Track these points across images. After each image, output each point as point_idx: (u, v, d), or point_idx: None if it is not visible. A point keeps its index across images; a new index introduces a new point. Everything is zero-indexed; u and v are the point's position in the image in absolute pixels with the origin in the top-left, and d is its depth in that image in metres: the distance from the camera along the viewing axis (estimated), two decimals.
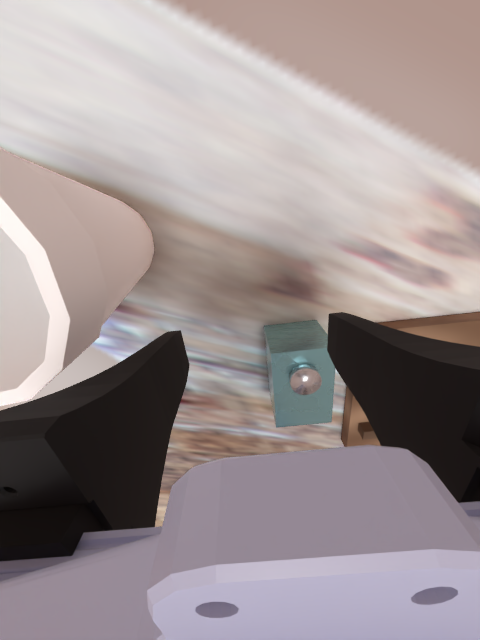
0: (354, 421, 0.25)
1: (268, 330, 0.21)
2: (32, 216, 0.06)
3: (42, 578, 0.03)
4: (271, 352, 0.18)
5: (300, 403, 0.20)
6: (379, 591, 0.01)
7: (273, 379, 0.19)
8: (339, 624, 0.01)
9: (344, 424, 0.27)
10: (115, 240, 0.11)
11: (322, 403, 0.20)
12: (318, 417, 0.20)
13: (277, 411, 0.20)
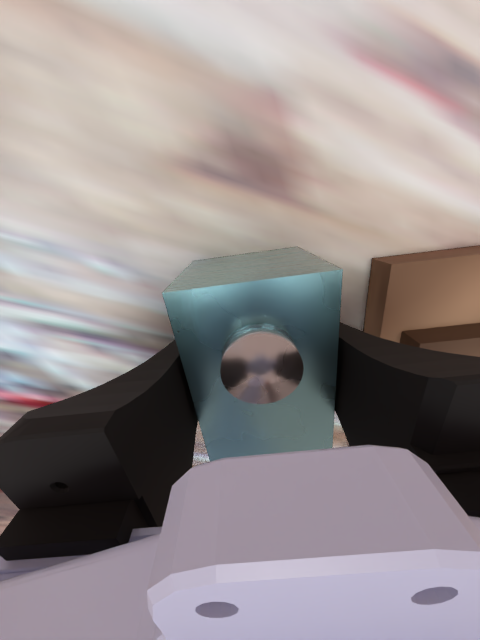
0: None
1: (195, 264, 0.10)
2: None
3: (42, 578, 0.03)
4: (167, 290, 0.07)
5: (260, 423, 0.09)
6: (380, 591, 0.01)
7: (185, 365, 0.07)
8: (339, 624, 0.01)
9: None
10: None
11: (309, 422, 0.09)
12: None
13: (209, 440, 0.09)
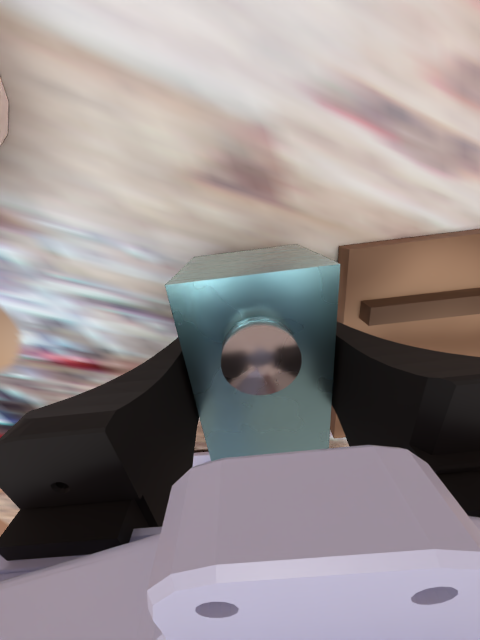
0: None
1: (196, 260, 0.10)
2: None
3: (42, 578, 0.03)
4: (169, 283, 0.07)
5: (258, 415, 0.09)
6: (379, 592, 0.01)
7: (186, 357, 0.08)
8: (339, 625, 0.01)
9: None
10: None
11: (307, 415, 0.09)
12: (300, 444, 0.09)
13: (208, 432, 0.09)
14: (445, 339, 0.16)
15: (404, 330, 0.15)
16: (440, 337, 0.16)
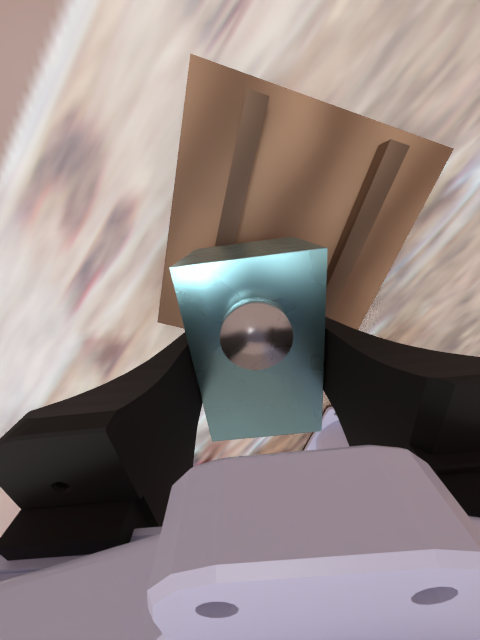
0: None
1: (198, 251, 0.11)
2: None
3: (42, 578, 0.03)
4: (173, 266, 0.07)
5: (255, 393, 0.09)
6: (379, 591, 0.01)
7: (188, 336, 0.08)
8: (339, 624, 0.01)
9: None
10: None
11: (300, 392, 0.09)
12: (294, 421, 0.10)
13: (208, 409, 0.10)
14: None
15: None
16: None
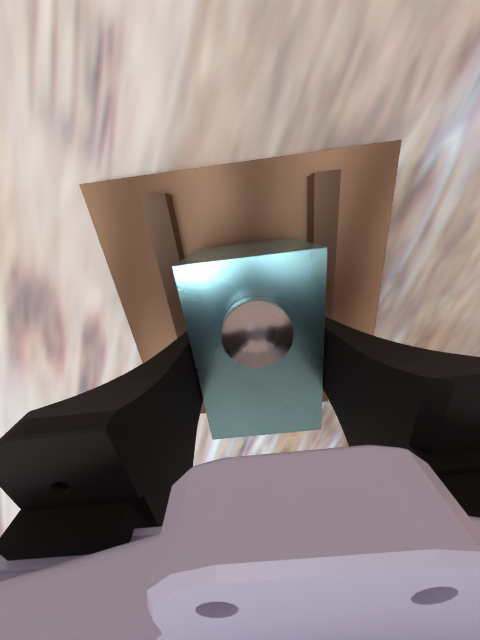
0: None
1: (199, 251, 0.11)
2: None
3: (42, 578, 0.03)
4: (176, 265, 0.08)
5: (256, 391, 0.09)
6: (379, 591, 0.01)
7: (190, 334, 0.08)
8: (339, 624, 0.01)
9: None
10: None
11: (300, 390, 0.09)
12: (294, 419, 0.10)
13: (209, 407, 0.10)
14: None
15: None
16: None
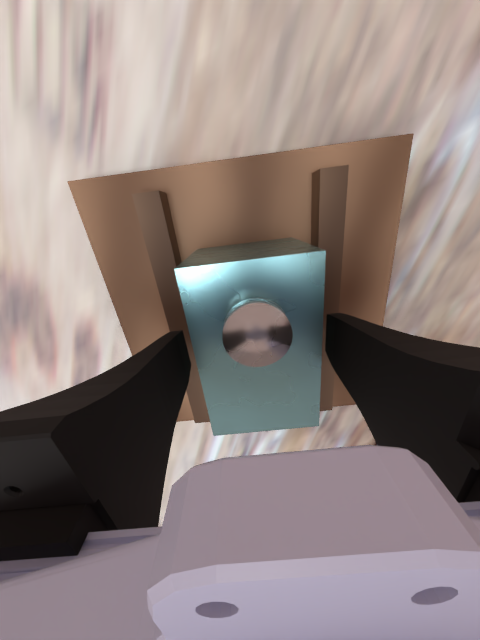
0: None
1: (200, 251, 0.11)
2: None
3: (42, 578, 0.03)
4: (177, 267, 0.08)
5: (255, 389, 0.10)
6: (379, 592, 0.01)
7: (191, 334, 0.09)
8: (339, 625, 0.01)
9: None
10: None
11: (299, 388, 0.10)
12: (293, 416, 0.10)
13: (210, 404, 0.10)
14: None
15: None
16: None
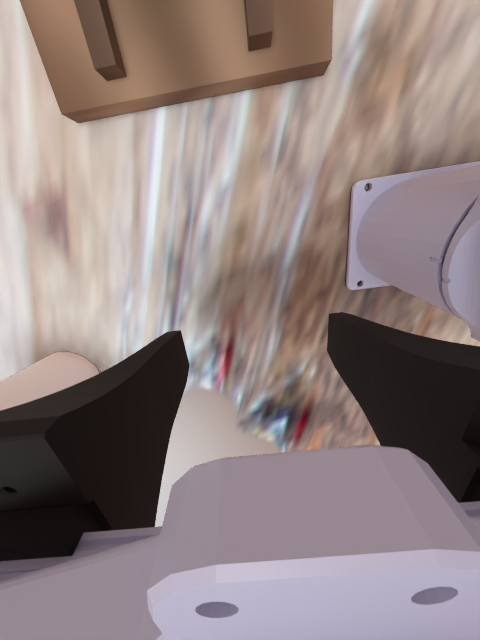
0: (245, 65, 0.13)
1: None
2: None
3: (42, 578, 0.03)
4: None
5: None
6: (379, 591, 0.01)
7: None
8: (339, 624, 0.01)
9: (273, 81, 0.14)
10: None
11: None
12: None
13: None
14: None
15: None
16: None
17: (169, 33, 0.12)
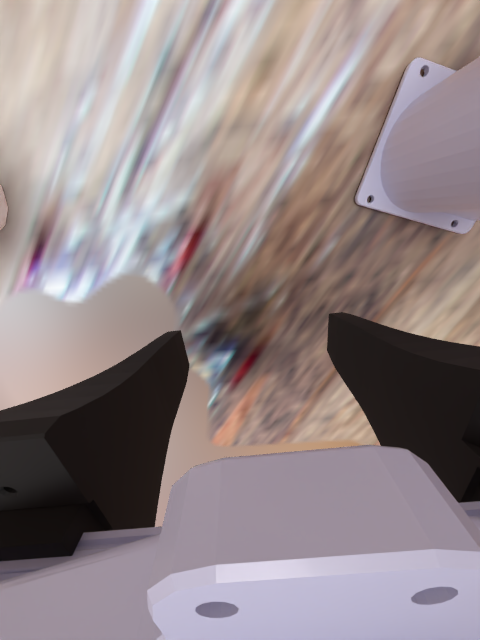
0: None
1: None
2: None
3: (42, 578, 0.03)
4: None
5: None
6: (379, 592, 0.01)
7: None
8: (339, 625, 0.01)
9: None
10: None
11: None
12: None
13: None
14: None
15: None
16: None
17: None
